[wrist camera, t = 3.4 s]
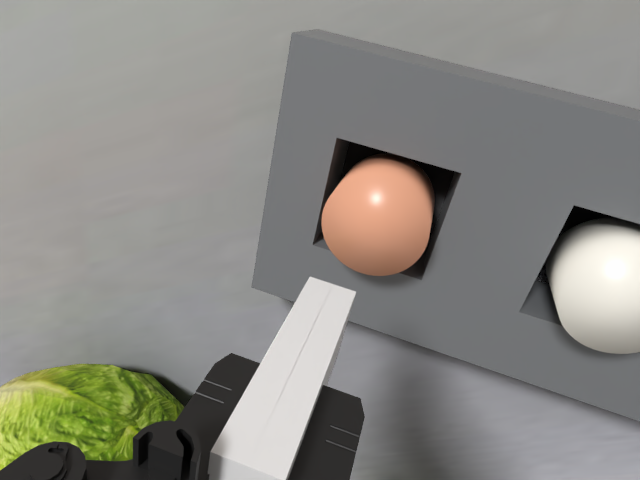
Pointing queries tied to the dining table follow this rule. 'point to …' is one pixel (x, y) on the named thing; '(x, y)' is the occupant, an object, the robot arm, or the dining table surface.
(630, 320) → the cream button
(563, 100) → the button console
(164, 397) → the lettuce
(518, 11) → the dining table surface
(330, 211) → the peach rounded knob
